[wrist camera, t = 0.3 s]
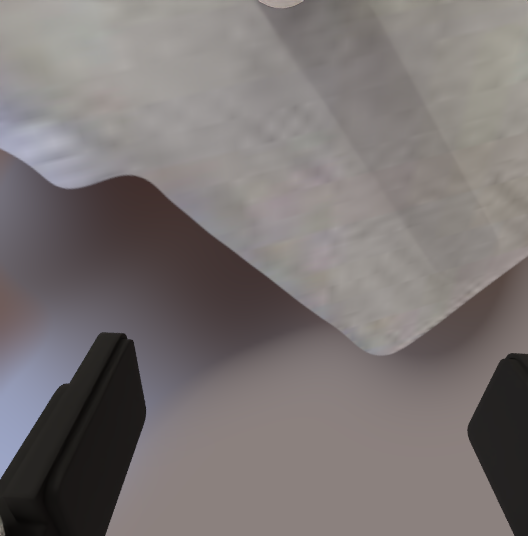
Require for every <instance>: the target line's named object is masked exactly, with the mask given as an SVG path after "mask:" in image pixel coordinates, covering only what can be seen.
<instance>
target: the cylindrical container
mask: <svg viewBox="0 0 528 536" xmlns="http://www.w3.org/2000/svg"><path fill="white" fill-rule="evenodd" d="M259 1H260V2H261V3H263V4H265V5H267V6H270V7H274V8H288V7H293V6H295V5H297V4H299V3H301V2H303V1H304V0H259Z"/></svg>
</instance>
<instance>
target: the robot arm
mask: <svg viewBox="0 0 528 536" xmlns="http://www.w3.org/2000/svg"><path fill="white" fill-rule="evenodd" d="M145 417H146V406H145V400H144V395H143V390H142V385H141V379H140V374H139V369H138V363H137V357H136V352H135V347H134V342H133V340H130V339H127V336H126V335H125V334H124V333H106V332H102V333H100V334H99V335H98V337H97V339H96V340H95V342H94V343H93V345H92V347H91V348H90V350H89V352H88V353H87V355H86V357H85V358H84V360H83V362H82V363H81V365H80V367H79V368H78V370H77V372H76V373H75V375H74V377H73V378H72V380H71V382H70V383H69V384H63V385H61V386H60V387H59V388H58V389H57V390H56V392H55V393H54V395H53V396H52V398H51V400H50V401H49V403H48V404H47V406H46V408H45V409H44V411H43V412H42V414H41V415H40V417H39V418H38V420H37V422H36V424H35V425H34V426H33V428H32V430H31V431H30V433H29V435H28V436H27V438H26V439H25V441H24V442H23V444H22V446H21V447H20V449H19V450H18V452H17V454H16V455H15V457H14V458H13V460H12V462H11V463H10V465H9V466H8V468H7V469H6V471H5V473H4V474H3V476H2V477H1V479H0V536H105V534H106V532H107V529H108V525H109V523H110V520H111V517H112V514H113V511H114V509H115V506H116V503H117V500H118V496H119V494H120V491H121V488H122V485H123V483H124V480H125V477H126V474H127V471H128V468H129V465H130V462H131V459H132V457H133V454H134V451H135V448H136V445H137V442H138V439H139V437H140V433H141V431H142V428H143V425H144V421H145ZM467 431H468V437H469V440H470V442H471V445H472V447H473V449H474V451H475V453H476V455H477V457H478V459H479V462H480V464H481V466H482V468H483V470H484V472H485V474H486V476H487V478H488V481H489V482H490V485H491V487H492V489H493V491H494V493H495V495H496V497H497V500H498V502H499V504H500V506H501V508H502V510H503V512H504V514H505V517H506V519H507V521H508V523H509V525H510V527H511V529H512V531H513V534H514V536H528V354H517V353H511V354H509V355H507V357H506V358H505V359H502V360H501V361H500V362H499V364H498V366H497V368H496V370H495V372H494V374H493V376H492V378H491V380H490V382H489V384H488V386H487V388H486V390H485V392H484V394H483V396H482V398H481V400H480V403H479V404H478V407H477V408H476V410H475V412H474V414H473V417H472V419H471V421H470V423H469V425H468V430H467Z"/></svg>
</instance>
